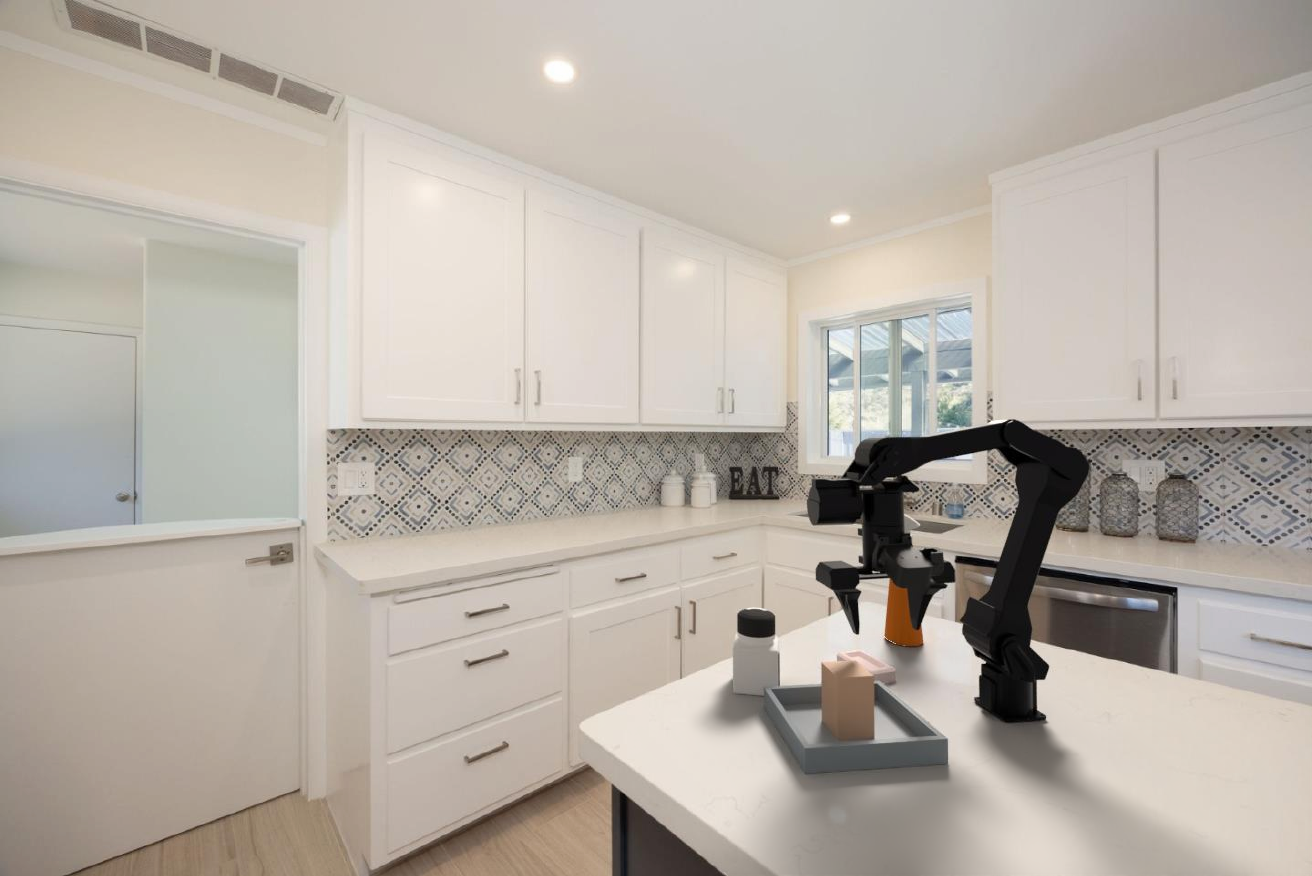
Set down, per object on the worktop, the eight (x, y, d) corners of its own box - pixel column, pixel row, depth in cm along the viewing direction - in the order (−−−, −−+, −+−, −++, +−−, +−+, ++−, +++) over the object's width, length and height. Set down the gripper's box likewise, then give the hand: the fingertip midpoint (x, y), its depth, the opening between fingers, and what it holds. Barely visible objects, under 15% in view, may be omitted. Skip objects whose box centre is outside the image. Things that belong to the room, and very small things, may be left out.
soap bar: (870, 688, 86) (869, 672, 86) (835, 665, 95) (835, 651, 95) (897, 683, 88) (897, 668, 88) (861, 661, 96) (860, 648, 96)
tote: (879, 700, 81) (879, 680, 81) (948, 763, 65) (947, 738, 65) (763, 707, 79) (763, 687, 79) (805, 774, 63) (804, 748, 63)
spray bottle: (869, 628, 112) (868, 502, 113) (926, 638, 106) (925, 505, 106) (860, 638, 107) (859, 506, 107) (920, 650, 100) (918, 509, 101)
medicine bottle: (779, 698, 82) (779, 619, 82) (732, 694, 83) (732, 616, 83) (778, 678, 89) (778, 605, 89) (735, 674, 90) (734, 603, 90)
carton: (856, 718, 75) (855, 660, 75) (874, 737, 70) (873, 676, 70) (821, 720, 74) (821, 662, 74) (837, 740, 69) (837, 677, 69)
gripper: (848, 536, 68) (852, 658, 68) (982, 529, 71) (986, 647, 71) (812, 523, 80) (815, 628, 79) (929, 518, 82) (932, 620, 82)
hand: (886, 631), depth 77 cm, fingers open, 9 cm apart
